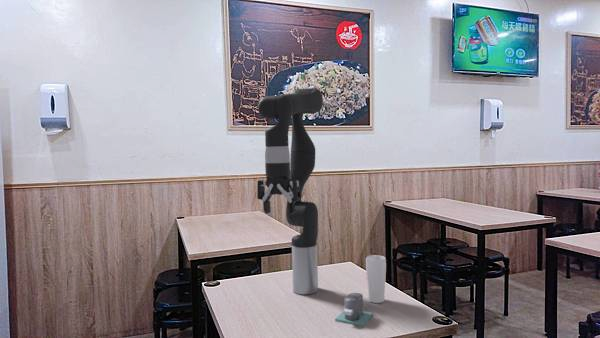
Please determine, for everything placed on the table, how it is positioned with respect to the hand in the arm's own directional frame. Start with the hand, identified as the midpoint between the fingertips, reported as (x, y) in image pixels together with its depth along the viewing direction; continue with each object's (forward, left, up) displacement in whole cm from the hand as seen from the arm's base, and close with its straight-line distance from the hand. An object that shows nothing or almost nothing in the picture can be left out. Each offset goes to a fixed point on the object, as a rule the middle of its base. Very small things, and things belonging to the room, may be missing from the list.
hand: (279, 213), depth 127 cm
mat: (-10, +20, -33) cm, 40 cm away
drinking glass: (-26, +22, -33) cm, 48 cm away
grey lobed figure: (-10, +20, -32) cm, 39 cm away
